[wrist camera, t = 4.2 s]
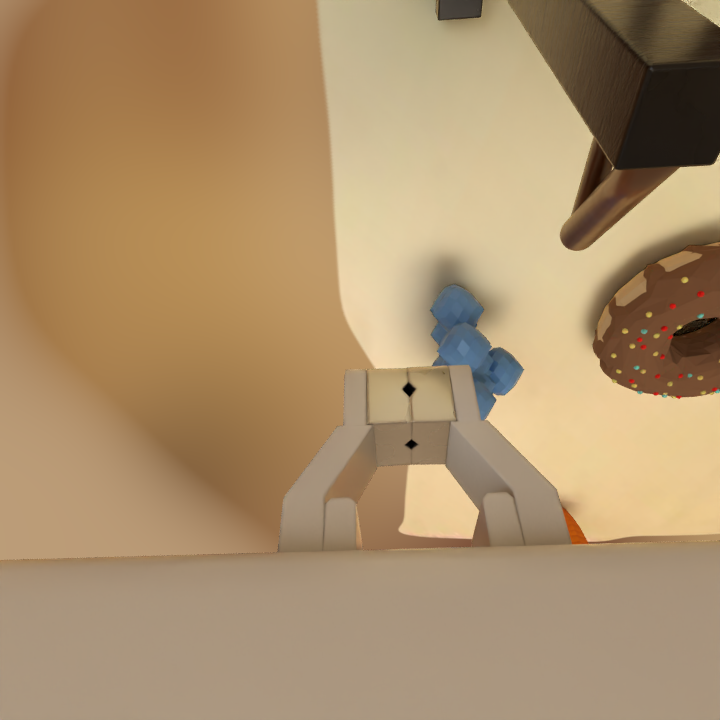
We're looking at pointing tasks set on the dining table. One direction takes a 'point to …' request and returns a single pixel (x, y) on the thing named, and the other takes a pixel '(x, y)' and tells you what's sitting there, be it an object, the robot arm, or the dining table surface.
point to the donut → (665, 327)
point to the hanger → (606, 197)
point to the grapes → (471, 346)
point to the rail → (629, 73)
